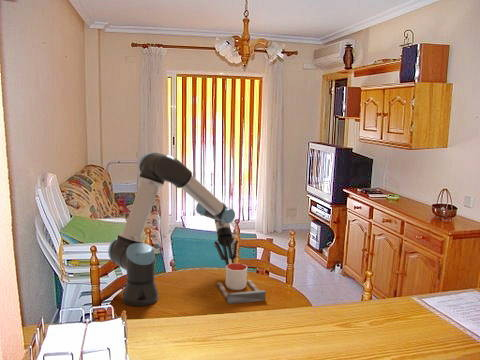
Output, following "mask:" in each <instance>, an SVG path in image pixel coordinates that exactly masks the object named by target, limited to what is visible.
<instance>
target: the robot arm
mask: <svg viewBox="0 0 480 360" xmlns="http://www.w3.org/2000/svg"><path fill="white" fill-rule="evenodd" d="M138 168H139V169H138V170H139V172H140V173H139V176H138V179H139V180H140V183H139V186H138V189H137V192H136V195H135V197H134V199H133V200H134V201H133V203H132V206H131V208H130V211H129V213H128V214H129V215H128V216H127V219H126V222H125V225H124V227H123V230H122V232H120V233H118V235H117V238H115V239H114V240H112V242H111V243H110V244H109V247H108V249H107V250H108V252H107V253H108V258H109V259H110V260H111V262H113V264H115V265H116V266H118V267H120V268H121V269H123V270H125V271H126V284H125V286H124V290H123V293H122V296H121V297H122V302H123V303H124V304H125V305H128V306H132V307H145V306H149V305H150V306H151V305H152V304H155V303H156V302H157V301H158V299H159V291H158V289H157V286H156V282H155V263H156V261H155V260H156V256H155V255H156V254H155V249H154V247H153V246H151V245H150V244H148V243H144V240H143V238H142V237H143V234H144V231H145V228H146V225H147V223H148V220H149V217H150V214H151V211H152V208H153V206H154V203H155V199H156V197H157V195H158V191H159V188H160V187H161V188H162V187H163V186H164V184H165V182H167V183H170V184H172V185H173V186H175V187H176V188H178V189H182V190H183V191H184V192H185V193H186V194H187V195H189V196H190V197H191V198H192V199H193V200H194V201H196V202H197V204H196V208H195V210H196V213H197V214H198V215H201V216H204V217H206V218H210V219H211V220H214V224H215V229H216V236H217V240H216V241H214V243H213V246H214V247H215V248H216V250H217V253H218V255H219V257H220V260H221V261H224V262H225V267H226V266H227V265H228V264H231V263H235V262H234V260H235V259H236V258H237V253H238V252H237V251H238V250H237V249H238V243H239V240H235V239H234V237H233V234H232V229H231V223H233V221H234V220H235V217H236V213H235V210H234V209H232V208H231V207H228V206H226V205H227V204H225V203H224V202H221V200H219V199H218V198H217V197H216V196H215V195H214V194H212V192H210V190H208V189H207V188H206V187H205V186H204V185H203V184H202V183H201V182H199V181H198V179H196V178H195V177H194V176H193V173H192V171H191V170H190V169H189V168H188V167H187V166H186V165H185V164H184V163H182V162H181V161H180V160H178V158H176V157H174V156H172V155H170V154H165V153H164V154H163V153H159V152H148V153H146V154H144V155H142V157H141V159H140V160H139V163H138ZM232 245H233V248H232ZM221 248H222V249H221ZM232 249H233V251H232Z"/></svg>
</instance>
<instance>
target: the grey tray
mask: <svg viewBox="0 0 480 360" xmlns="http://www.w3.org/2000/svg"><path fill="white" fill-rule="evenodd" d="M247 285H248V286H249V288H250V289H251V290H250V291H240V292H239V291H238V292H231V293H230V292H228V290H227V289H226V288H225V286H224V284H223V283H222V282H217V283H216V286H217V288H218V290H219V291H220V293H221V295H222V296H223V298H224V299H225V301H226V303H227V304H228V305H233V304H242V303H255V302H261V301H263V302H264V301H266V296H267V295H266V294H267V292H266V291H265V290H264V289H261V290H260V289H259V288H258V287H257V285H256V284H255V283H254V281H252V279H247Z"/></svg>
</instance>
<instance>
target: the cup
mask: <svg viewBox="0 0 480 360" xmlns="http://www.w3.org/2000/svg"><path fill="white" fill-rule="evenodd" d="M247 280H248V266H247V265H246V264H243V263H239V262H234V263H231V264H228V265H227V266H226V265H225V286H226V288H227V289H229V290H232V291H241V290H243V289H245V288H246V287H247V285H248V284H247Z"/></svg>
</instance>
